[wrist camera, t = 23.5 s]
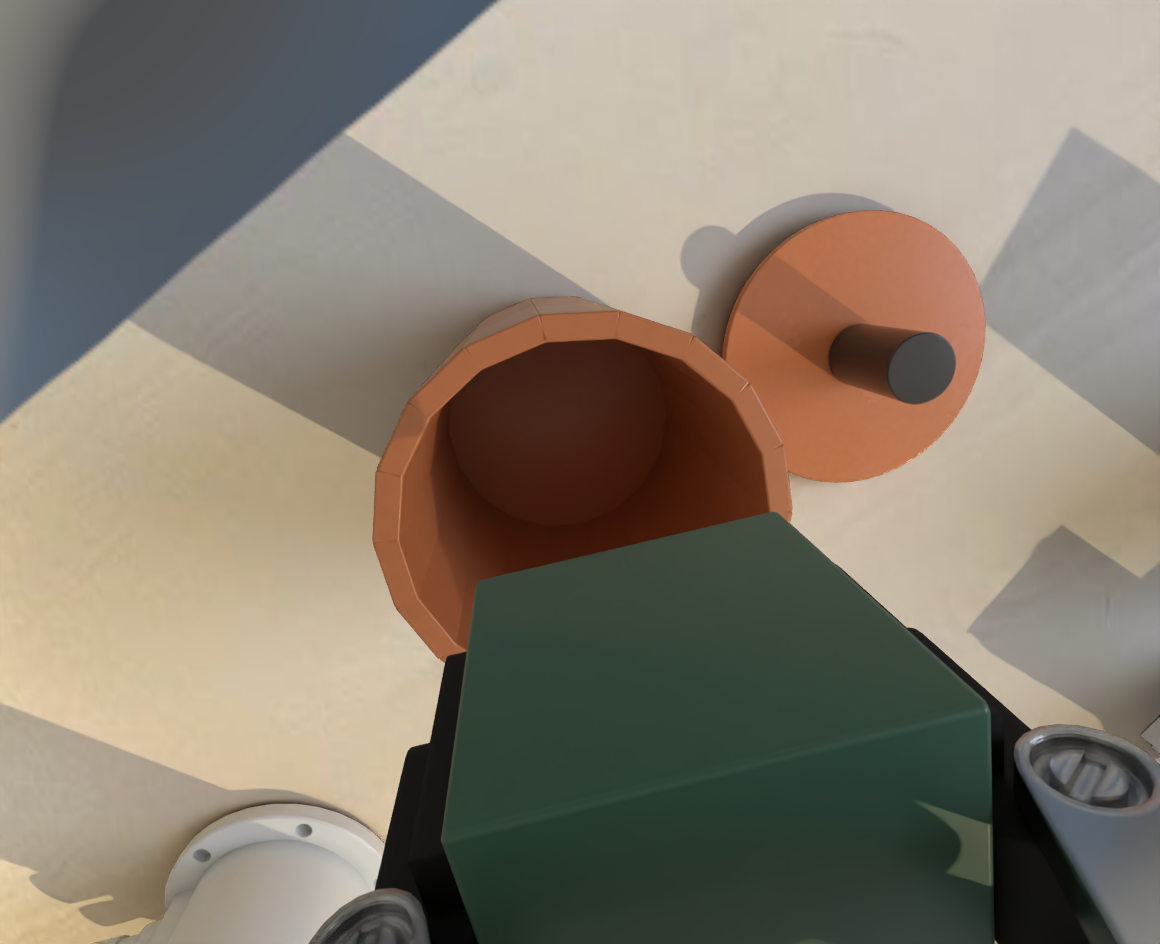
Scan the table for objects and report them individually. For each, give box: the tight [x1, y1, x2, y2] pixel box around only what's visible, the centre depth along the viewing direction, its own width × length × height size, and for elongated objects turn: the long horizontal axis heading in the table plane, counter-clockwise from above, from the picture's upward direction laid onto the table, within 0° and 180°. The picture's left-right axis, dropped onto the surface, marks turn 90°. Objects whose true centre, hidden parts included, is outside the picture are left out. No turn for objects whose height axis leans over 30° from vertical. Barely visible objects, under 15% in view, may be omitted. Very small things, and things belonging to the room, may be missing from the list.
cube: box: [441, 512, 995, 944], centre depth 9 cm, size 5×5×5 cm
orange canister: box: [373, 296, 792, 662], centre depth 24 cm, size 11×12×14 cm
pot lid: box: [722, 210, 985, 483], centre depth 28 cm, size 12×12×6 cm
